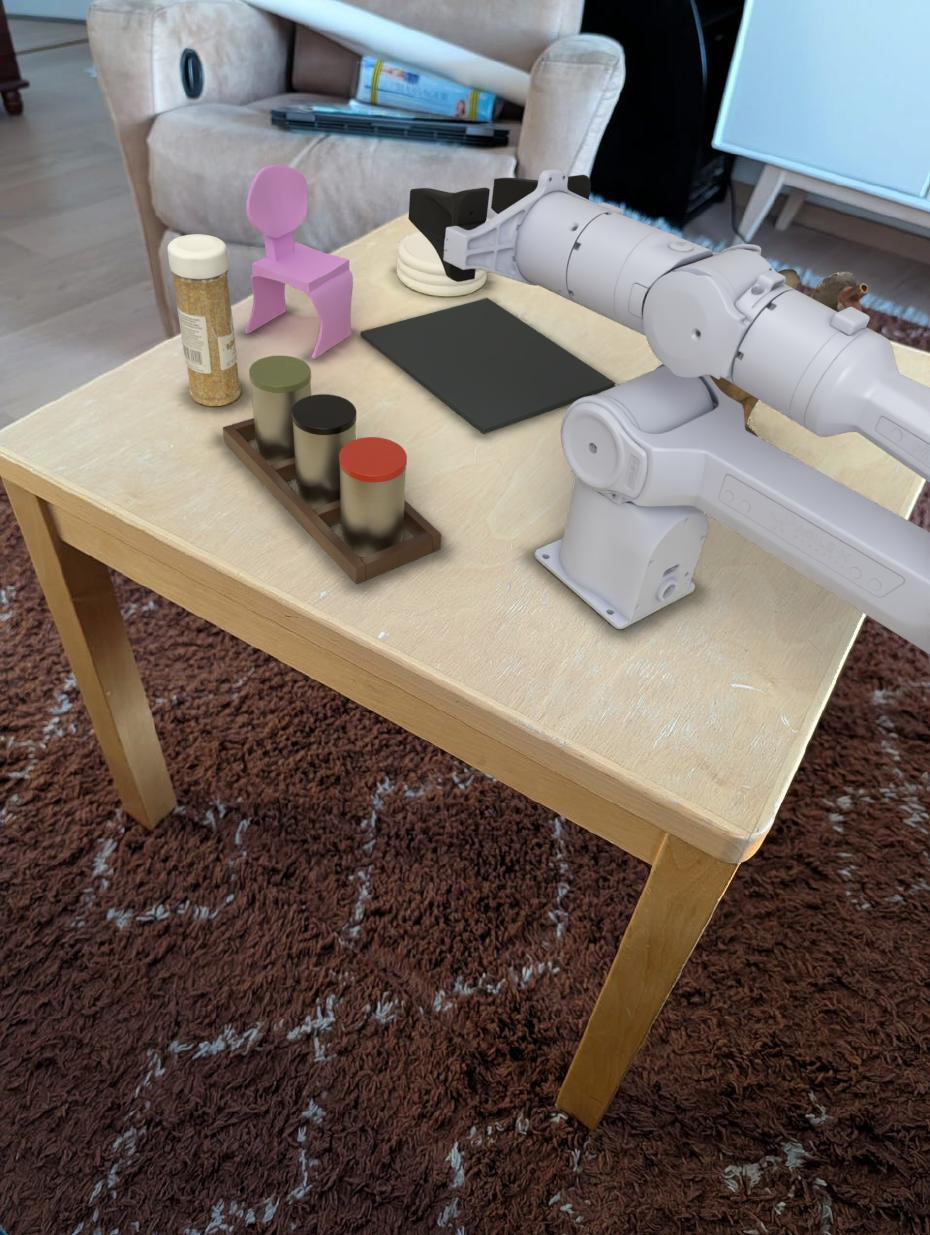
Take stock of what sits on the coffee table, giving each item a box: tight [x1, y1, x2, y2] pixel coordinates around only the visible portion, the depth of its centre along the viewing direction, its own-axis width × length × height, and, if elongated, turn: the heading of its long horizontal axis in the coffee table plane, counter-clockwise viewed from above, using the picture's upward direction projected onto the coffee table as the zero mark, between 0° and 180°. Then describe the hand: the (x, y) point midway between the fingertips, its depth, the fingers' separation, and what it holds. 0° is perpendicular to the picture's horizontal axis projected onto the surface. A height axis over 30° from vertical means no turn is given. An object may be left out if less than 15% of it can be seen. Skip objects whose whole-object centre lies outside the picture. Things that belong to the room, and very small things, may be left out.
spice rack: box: [222, 417, 442, 585], centre depth 72 cm, size 21×7×2 cm, turn 37°
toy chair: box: [244, 164, 354, 360], centre depth 85 cm, size 8×9×15 cm
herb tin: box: [248, 355, 312, 465], centre depth 74 cm, size 5×5×8 cm
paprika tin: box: [339, 436, 408, 558], centre depth 67 cm, size 5×5×8 cm
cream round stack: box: [396, 231, 488, 297], centre depth 101 cm, size 10×10×4 cm
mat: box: [360, 297, 616, 435], centre depth 90 cm, size 20×16×1 cm
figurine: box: [807, 271, 869, 312], centre depth 86 cm, size 7×7×12 cm
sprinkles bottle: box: [167, 233, 242, 407], centre depth 77 cm, size 5×5×14 cm
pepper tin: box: [292, 393, 357, 510], centre depth 70 cm, size 5×5×8 cm
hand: (455, 198), depth 65 cm, fingers open, 7 cm apart
